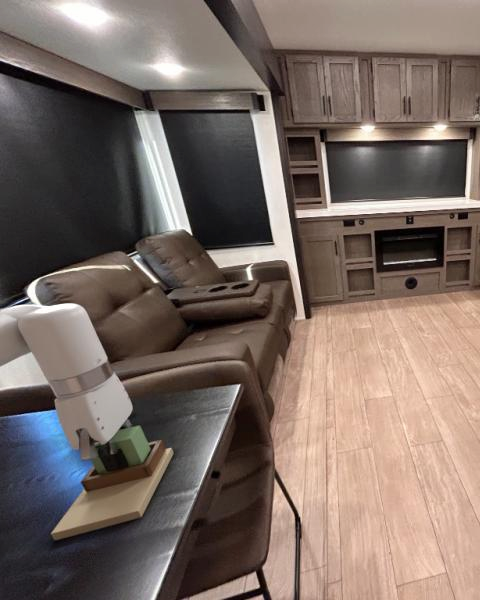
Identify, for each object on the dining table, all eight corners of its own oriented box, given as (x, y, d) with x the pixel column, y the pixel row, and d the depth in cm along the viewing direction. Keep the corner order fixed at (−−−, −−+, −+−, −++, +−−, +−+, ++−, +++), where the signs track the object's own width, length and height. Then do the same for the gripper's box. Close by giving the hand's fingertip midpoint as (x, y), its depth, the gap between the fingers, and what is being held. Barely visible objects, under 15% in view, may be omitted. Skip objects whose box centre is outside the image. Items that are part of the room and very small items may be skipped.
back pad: (142, 463, 59) (130, 438, 57) (98, 474, 57) (84, 448, 55) (151, 449, 62) (140, 425, 60) (109, 459, 61) (96, 434, 58)
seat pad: (142, 519, 53) (132, 500, 51) (55, 542, 50) (42, 523, 49) (174, 454, 66) (167, 437, 64) (106, 470, 63) (97, 453, 61)
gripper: (87, 357, 60) (124, 433, 66) (13, 414, 45) (70, 506, 51) (133, 349, 61) (165, 424, 68) (76, 402, 46) (124, 492, 53)
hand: (124, 458), depth 60 cm, fingers closed on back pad, 3 cm apart
